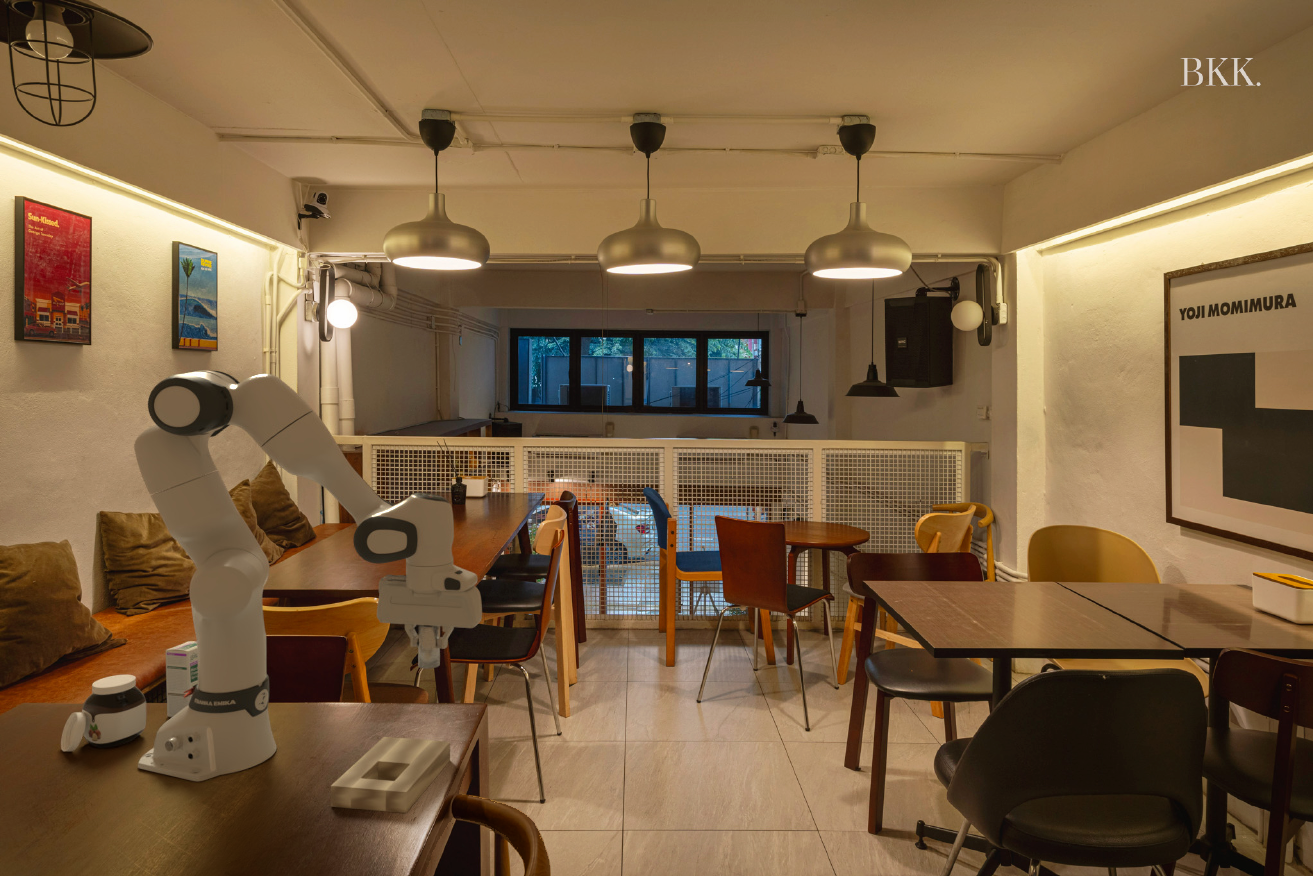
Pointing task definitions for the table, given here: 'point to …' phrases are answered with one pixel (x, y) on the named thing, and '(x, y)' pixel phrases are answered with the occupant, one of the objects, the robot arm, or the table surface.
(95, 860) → the table surface
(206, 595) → the robot arm
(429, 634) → the bushing
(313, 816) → the table surface
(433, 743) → the frame
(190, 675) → the syrup box
